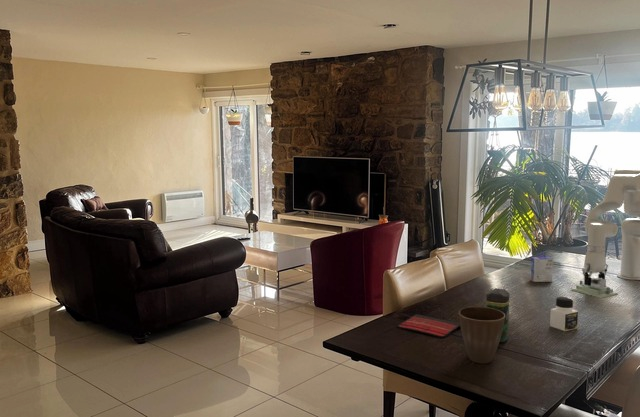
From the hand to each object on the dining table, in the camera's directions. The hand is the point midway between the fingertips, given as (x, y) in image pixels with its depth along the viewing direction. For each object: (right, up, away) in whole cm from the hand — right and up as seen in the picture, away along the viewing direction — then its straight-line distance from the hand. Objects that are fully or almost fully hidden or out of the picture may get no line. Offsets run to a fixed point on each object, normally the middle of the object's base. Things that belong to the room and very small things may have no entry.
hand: (594, 283), depth 267 cm
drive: (0, -3, 0) cm, 3 cm away
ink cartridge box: (-16, -2, +23) cm, 29 cm away
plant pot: (-78, -15, -80) cm, 112 cm away
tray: (0, -4, 0) cm, 4 cm away
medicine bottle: (-36, -11, -49) cm, 62 cm away
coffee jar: (-66, -12, -61) cm, 91 cm away
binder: (-89, -12, -47) cm, 101 cm away
